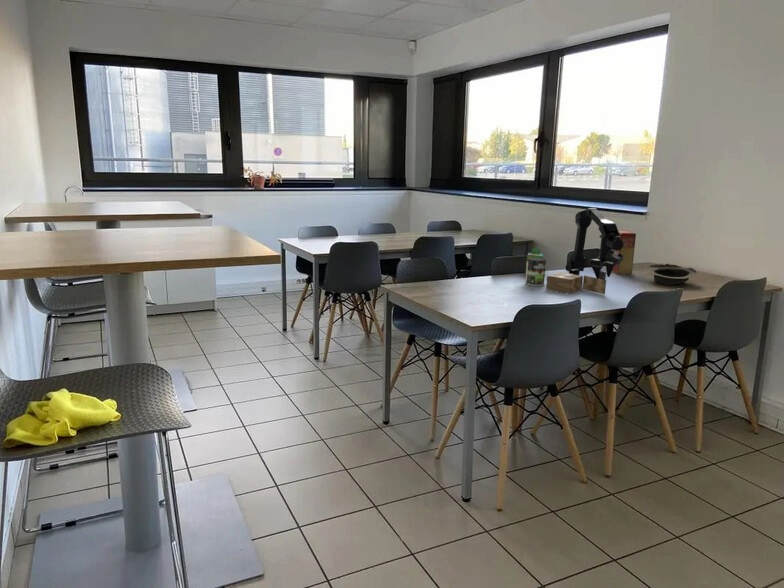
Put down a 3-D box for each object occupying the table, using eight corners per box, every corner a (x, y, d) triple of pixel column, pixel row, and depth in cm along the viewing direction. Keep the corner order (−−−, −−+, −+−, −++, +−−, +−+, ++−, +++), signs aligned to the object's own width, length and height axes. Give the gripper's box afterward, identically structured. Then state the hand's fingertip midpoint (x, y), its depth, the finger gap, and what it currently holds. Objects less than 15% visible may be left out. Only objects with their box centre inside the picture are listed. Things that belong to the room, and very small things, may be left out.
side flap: (582, 289, 302) (584, 268, 300) (583, 289, 303) (585, 267, 300) (604, 294, 291) (606, 272, 289) (605, 294, 292) (607, 272, 289)
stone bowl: (675, 277, 336) (678, 262, 334) (703, 290, 313) (707, 274, 310) (637, 277, 333) (639, 262, 330) (662, 290, 309) (665, 274, 306)
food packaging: (608, 270, 356) (613, 230, 350) (624, 270, 356) (628, 230, 350) (617, 274, 343) (621, 233, 337) (632, 274, 343) (637, 233, 337)
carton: (558, 285, 312) (560, 272, 310) (581, 289, 303) (583, 275, 301) (545, 289, 302) (547, 275, 300) (569, 294, 293) (570, 279, 291)
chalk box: (525, 274, 342) (527, 249, 338) (526, 271, 351) (528, 247, 347) (541, 275, 339) (543, 250, 336) (542, 272, 348) (544, 248, 344)
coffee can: (547, 285, 312) (549, 260, 308) (530, 286, 309) (532, 260, 306) (538, 281, 321) (540, 256, 318) (521, 282, 319) (523, 257, 315)
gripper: (609, 251, 277) (606, 282, 280) (631, 248, 287) (627, 278, 291) (589, 248, 285) (586, 278, 289) (611, 245, 296) (608, 274, 300)
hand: (603, 277), depth 292 cm, fingers open, 9 cm apart
